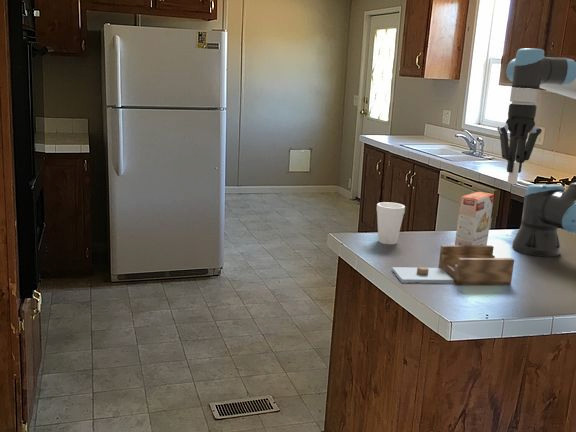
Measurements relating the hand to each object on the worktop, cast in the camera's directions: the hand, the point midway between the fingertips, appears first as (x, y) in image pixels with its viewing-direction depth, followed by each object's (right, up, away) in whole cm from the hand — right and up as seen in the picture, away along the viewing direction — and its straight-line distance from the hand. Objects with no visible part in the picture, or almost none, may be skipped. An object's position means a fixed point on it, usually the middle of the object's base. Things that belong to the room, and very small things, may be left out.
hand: (512, 183), depth 180 cm
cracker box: (-8, -24, +14) cm, 29 cm away
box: (-13, -28, -4) cm, 31 cm away
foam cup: (-33, -19, +28) cm, 47 cm away
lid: (-29, -28, -6) cm, 40 cm away
